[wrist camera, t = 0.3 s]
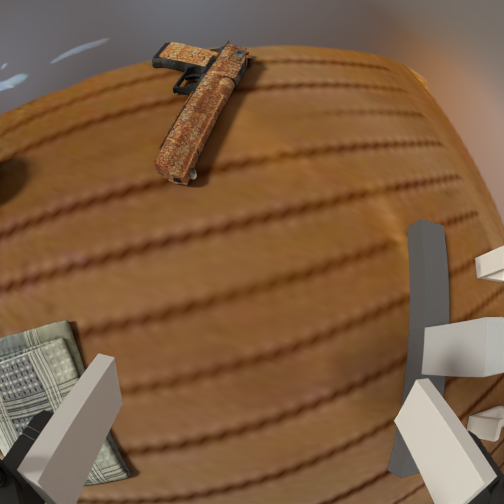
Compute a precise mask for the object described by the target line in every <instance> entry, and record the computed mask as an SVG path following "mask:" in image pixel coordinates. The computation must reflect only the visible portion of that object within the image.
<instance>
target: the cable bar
mask: <svg viewBox="0 0 504 504" xmlns="http://www.w3.org/2000/svg"><path fill="white" fill-rule="evenodd" d="M407 235H408V250H409V272H410V316H409V338H408V353H407V364H406V374H405V382H404V390H403V397H402V404H401V408H402V406H403V404H404V403H405V401H406V399H407V397H408V395H409V393H410V391H411V389H412V387H413V385H414V383H415V381H416V380H418V379H427V378H428V379H429V380H430V381H431V383H432V384H433V385H434V386H435V388H436V389H437V390H438V392H439V393H440V394H441V396H442V397H443V393H444V386H445V378H446V376H459V377H487V376H491V375H495V374H499V373H503V372H504V317H486V318H480V319H475V320H470V321H464V322H459V323H453V324H449V279H448V264H447V252H446V242H445V233H444V226H443V225H440V224H437V223H433V222H430V221H426V220H423V219H420V220H418V221H417V222H415V223H414V224H412V225H411V226H409V227H408V228H407ZM388 471H390V472H391V473H393V474H395V475H396V476H398V477H400V478H403V477H407V476H410V475H414V474H417V473H420V471H419V469H418V467H417V465H416V463H415V461H414V459H413V457H412V455H411V453H410V451H409V449H408V447H407V445H406V443H405V441H404V439H403V437H402V435H401V433H400V431H399V429H398V427H397V432H396V437H395V441H394V446H393V450H392V454H391V459H390V463H389V466H388Z"/></svg>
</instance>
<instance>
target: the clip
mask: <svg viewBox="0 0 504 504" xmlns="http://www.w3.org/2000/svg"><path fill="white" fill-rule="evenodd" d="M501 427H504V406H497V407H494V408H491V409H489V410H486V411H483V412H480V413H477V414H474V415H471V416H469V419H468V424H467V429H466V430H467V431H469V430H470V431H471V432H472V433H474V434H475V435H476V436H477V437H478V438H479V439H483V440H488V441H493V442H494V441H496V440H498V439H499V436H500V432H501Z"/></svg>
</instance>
